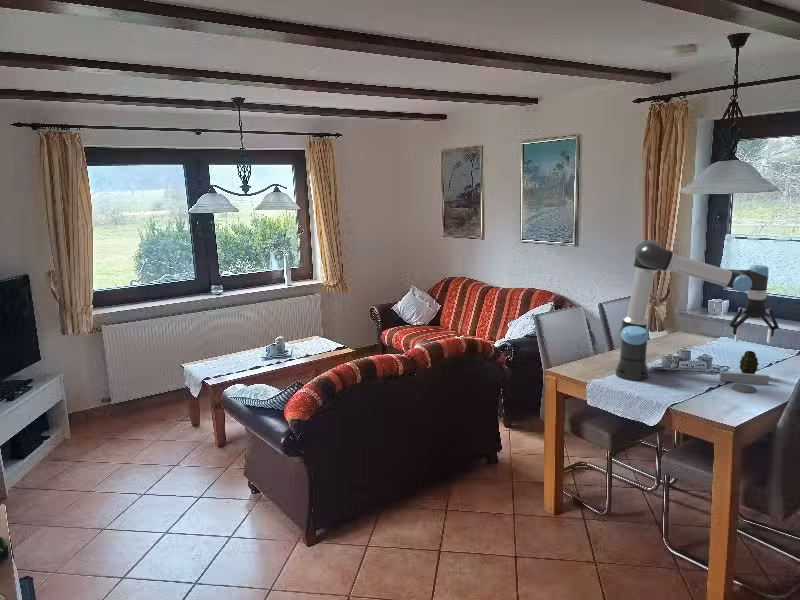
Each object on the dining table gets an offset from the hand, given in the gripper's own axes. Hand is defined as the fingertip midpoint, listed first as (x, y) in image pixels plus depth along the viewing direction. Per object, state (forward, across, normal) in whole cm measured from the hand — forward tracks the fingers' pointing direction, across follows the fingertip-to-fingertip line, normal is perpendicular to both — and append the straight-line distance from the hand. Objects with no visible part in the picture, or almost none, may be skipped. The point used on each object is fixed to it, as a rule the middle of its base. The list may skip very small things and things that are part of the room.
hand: (752, 342), depth 277 cm
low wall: (+17, -4, -10) cm, 20 cm away
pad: (+17, -6, -20) cm, 27 cm away
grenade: (+17, 0, 0) cm, 17 cm away
